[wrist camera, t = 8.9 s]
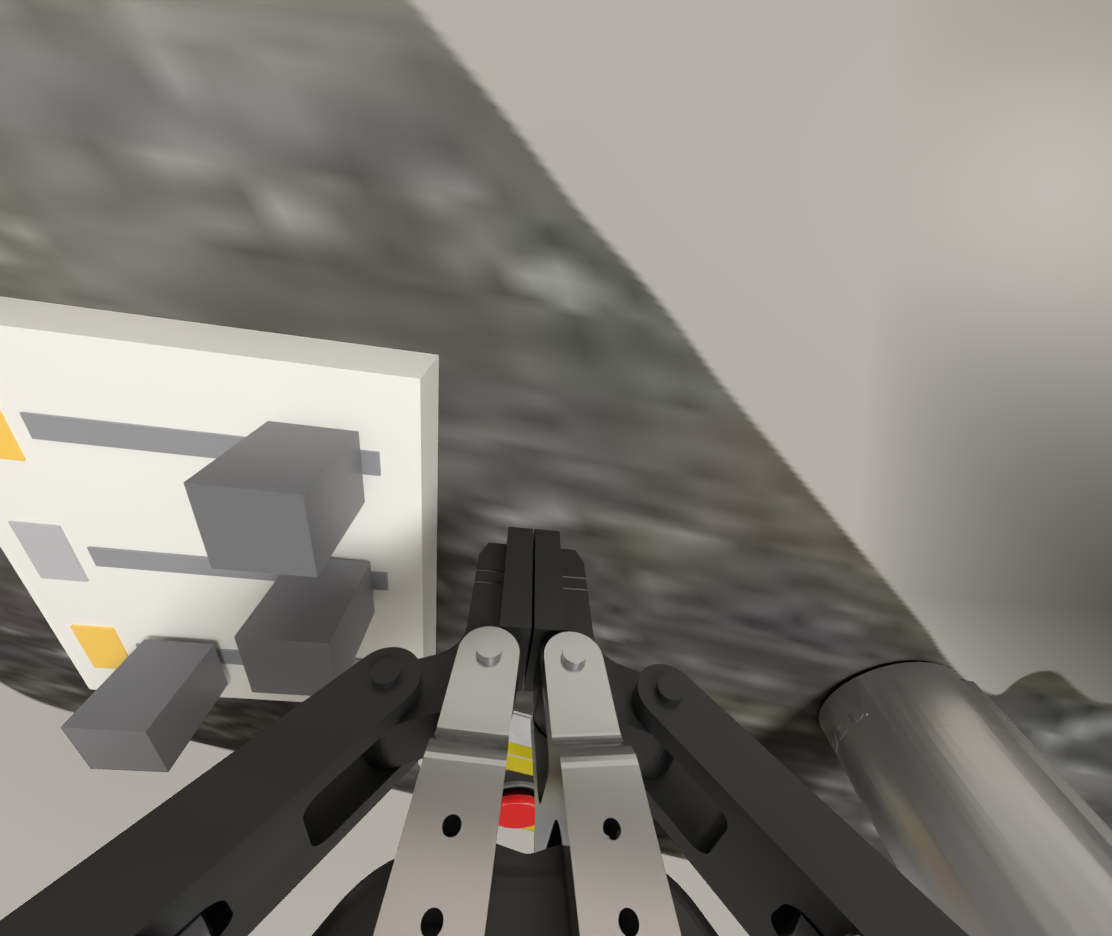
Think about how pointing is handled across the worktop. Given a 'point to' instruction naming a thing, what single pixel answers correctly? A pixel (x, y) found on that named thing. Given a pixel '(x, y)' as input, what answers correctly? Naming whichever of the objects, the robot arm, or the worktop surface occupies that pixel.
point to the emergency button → (518, 777)
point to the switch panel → (180, 452)
